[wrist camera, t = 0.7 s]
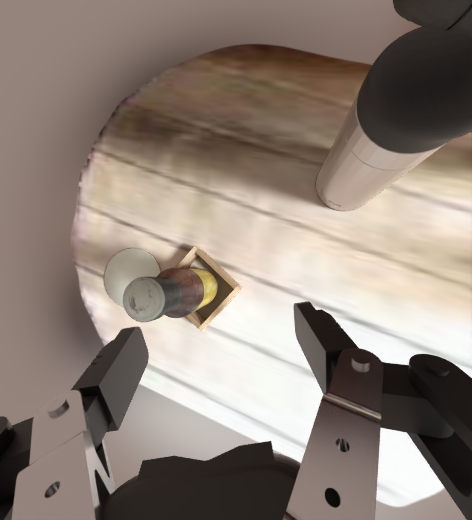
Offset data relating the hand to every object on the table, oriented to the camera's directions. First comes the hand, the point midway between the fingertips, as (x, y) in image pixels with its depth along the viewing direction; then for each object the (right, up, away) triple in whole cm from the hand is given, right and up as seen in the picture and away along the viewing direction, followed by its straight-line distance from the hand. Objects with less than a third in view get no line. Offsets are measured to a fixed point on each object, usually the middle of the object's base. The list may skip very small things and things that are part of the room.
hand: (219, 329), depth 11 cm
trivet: (-18, 0, +29) cm, 35 cm away
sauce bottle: (-5, -1, +28) cm, 28 cm away
